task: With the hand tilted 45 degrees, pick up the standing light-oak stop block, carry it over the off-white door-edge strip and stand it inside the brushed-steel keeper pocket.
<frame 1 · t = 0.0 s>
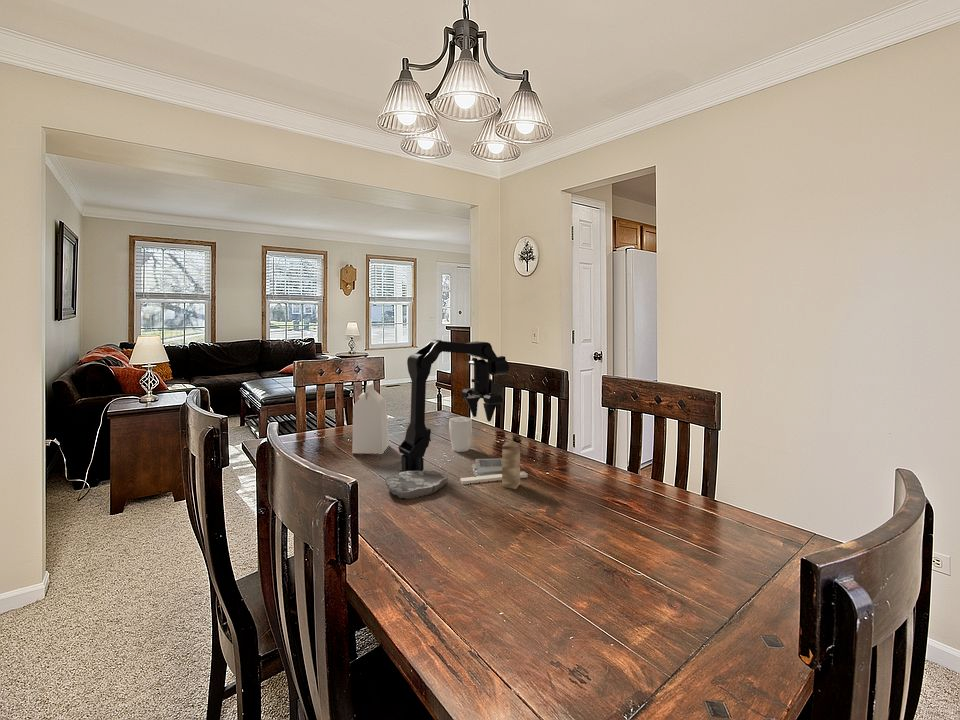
hand: (481, 419, 178), 15 cm above the table, tool pointing down, fingers open, 9 cm apart
keeper: (490, 470, 166), on the table
cup: (460, 450, 191), on the table
milk: (371, 450, 190), on the table
stop block: (511, 485, 152), on the table
brain slice: (413, 489, 150), on the table
door edge strip: (494, 479, 157), on the table
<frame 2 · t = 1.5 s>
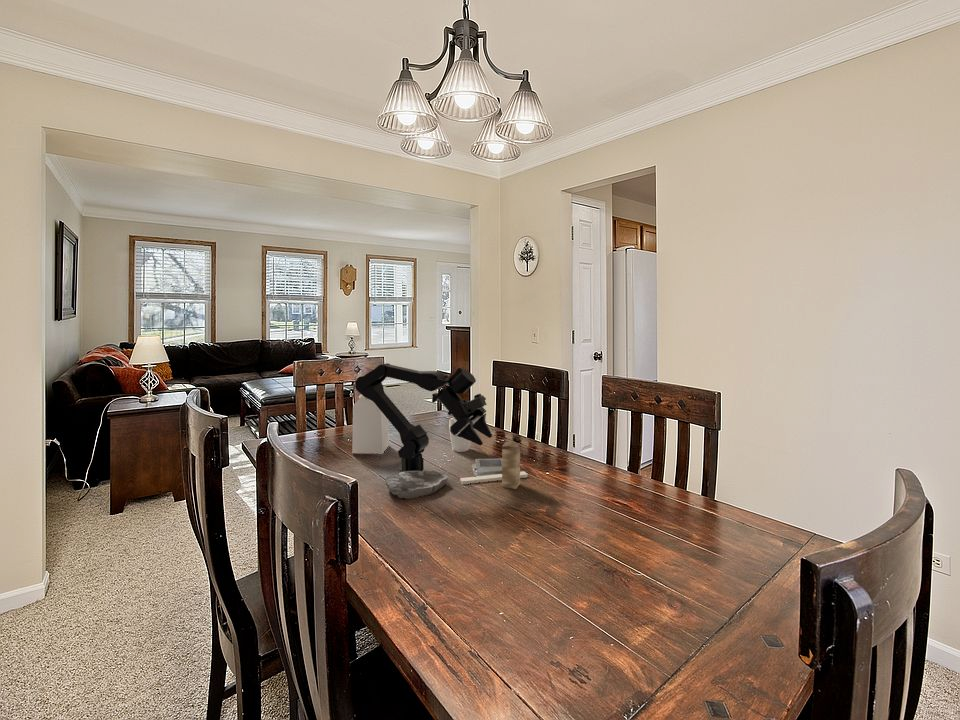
hand: (486, 440, 153), 13 cm above the table, tool tilted 45°, fingers open, 9 cm apart
nothing on the table moved.
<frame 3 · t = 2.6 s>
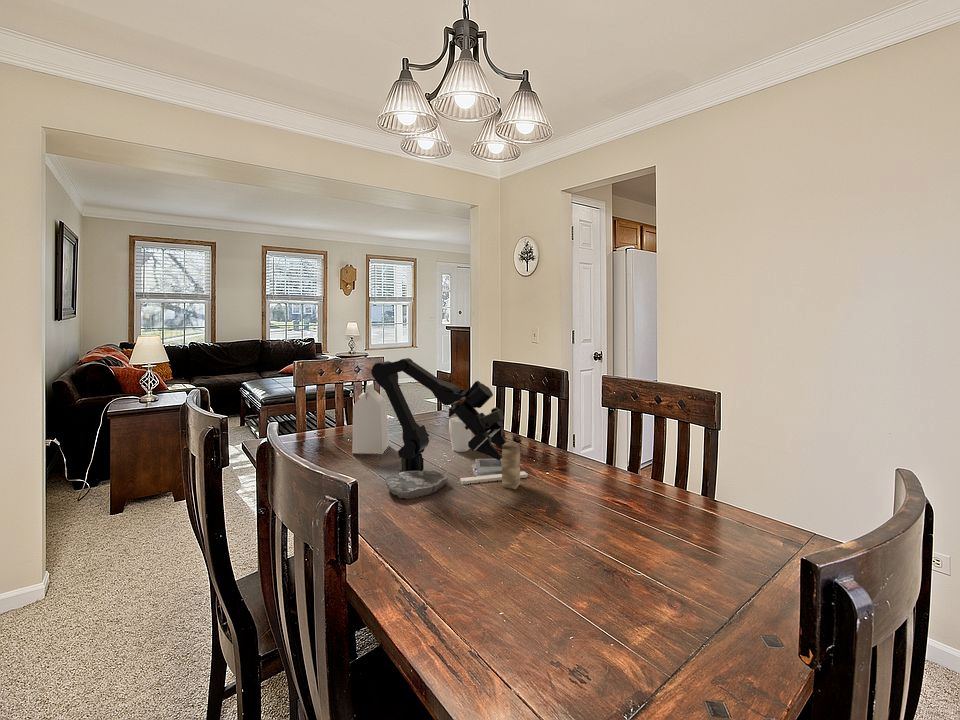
hand: (504, 454, 152), 9 cm above the table, tool tilted 45°, fingers open, 9 cm apart
nothing on the table moved.
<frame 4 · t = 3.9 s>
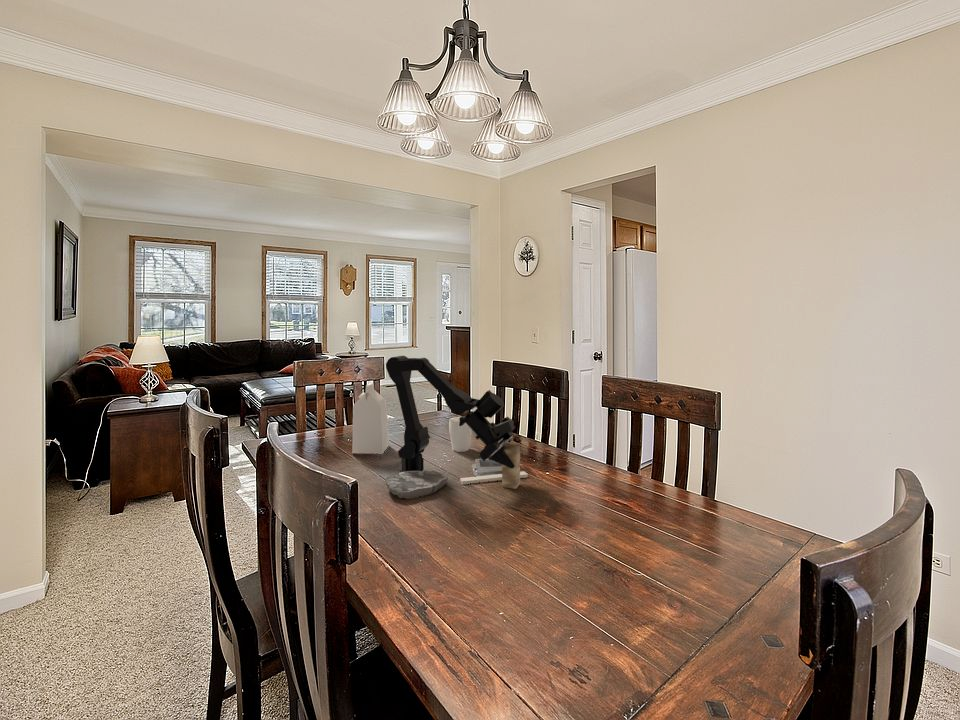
hand: (515, 465, 151), 7 cm above the table, tool tilted 45°, fingers closed on stop block, 4 cm apart
stop block: (511, 485, 152), on the table, touching gripper
everything else where it was.
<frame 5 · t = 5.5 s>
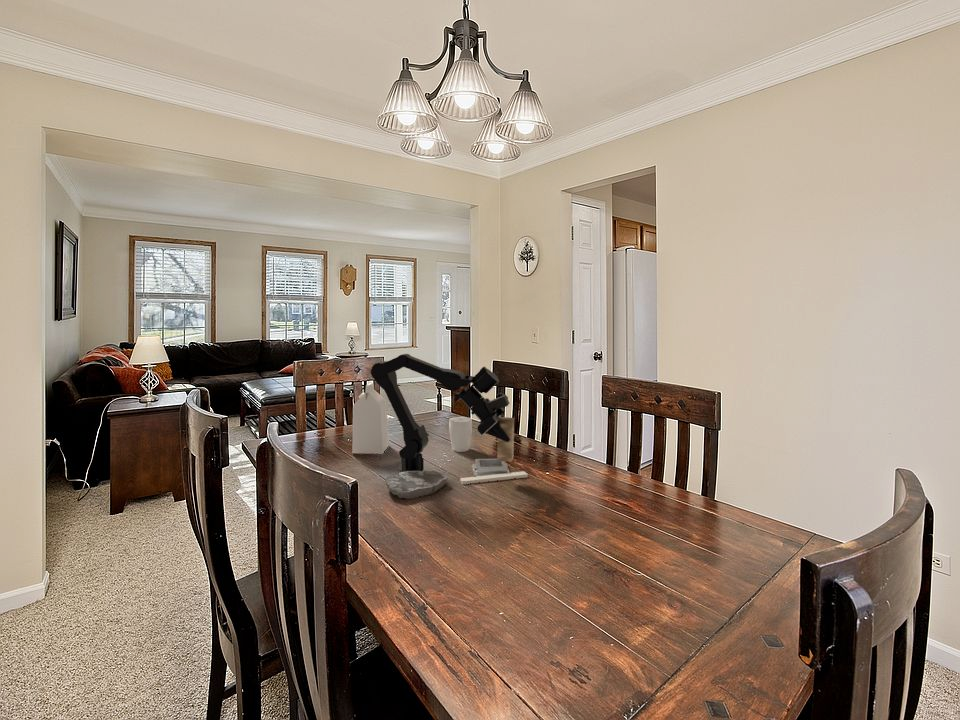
hand: (510, 439, 155), 13 cm above the table, tool tilted 45°, fingers closed on stop block, 4 cm apart
stop block: (505, 459, 156), point 7 cm above the table, touching gripper
everything else where it was.
when the fingers open (8 cm above the table, at t = 7.4 s): stop block drops 1 cm, resting on keeper.
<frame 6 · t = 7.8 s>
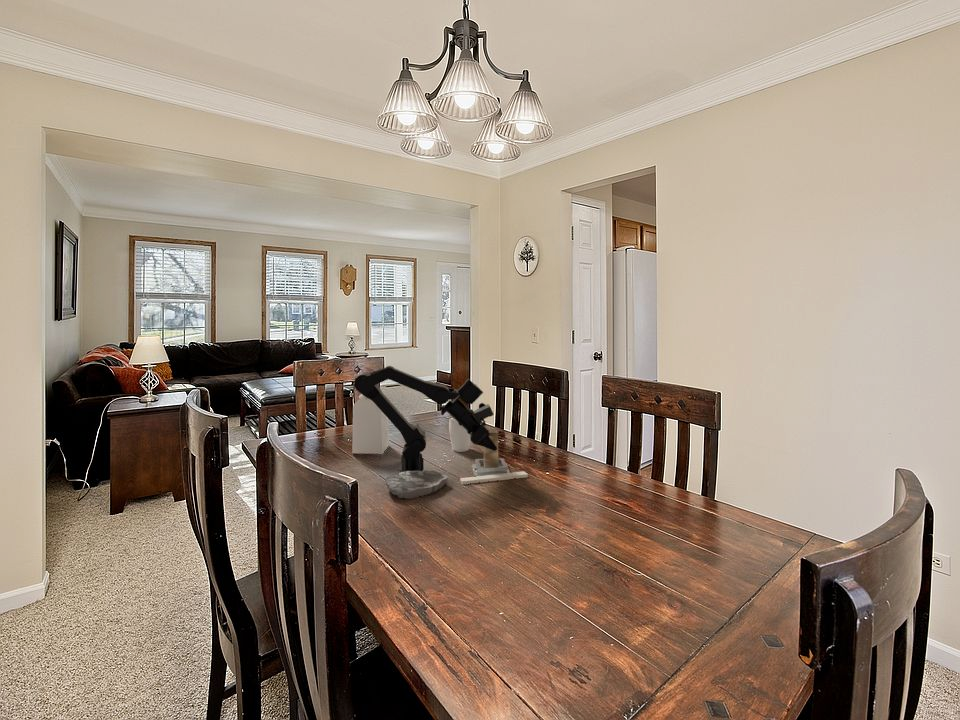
hand: (494, 445, 165), 9 cm above the table, tool tilted 45°, fingers open, 9 cm apart
stop block: (490, 468, 166), point 1 cm above the table, touching keeper
everything else where it was.
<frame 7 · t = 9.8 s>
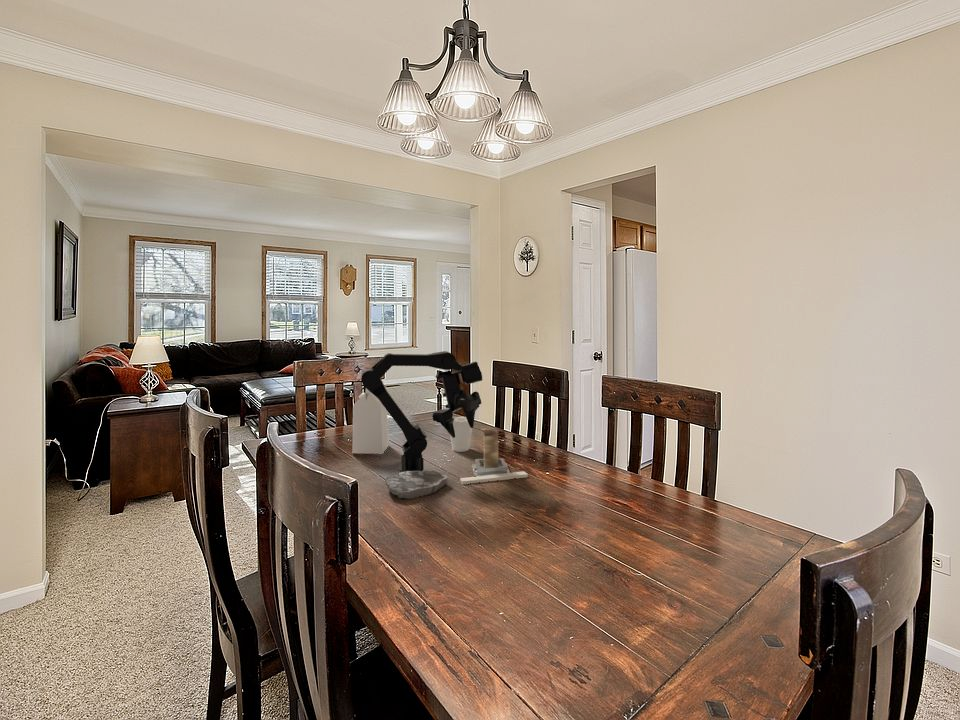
hand: (463, 432, 166), 13 cm above the table, tool pointing down, fingers open, 9 cm apart
nothing on the table moved.
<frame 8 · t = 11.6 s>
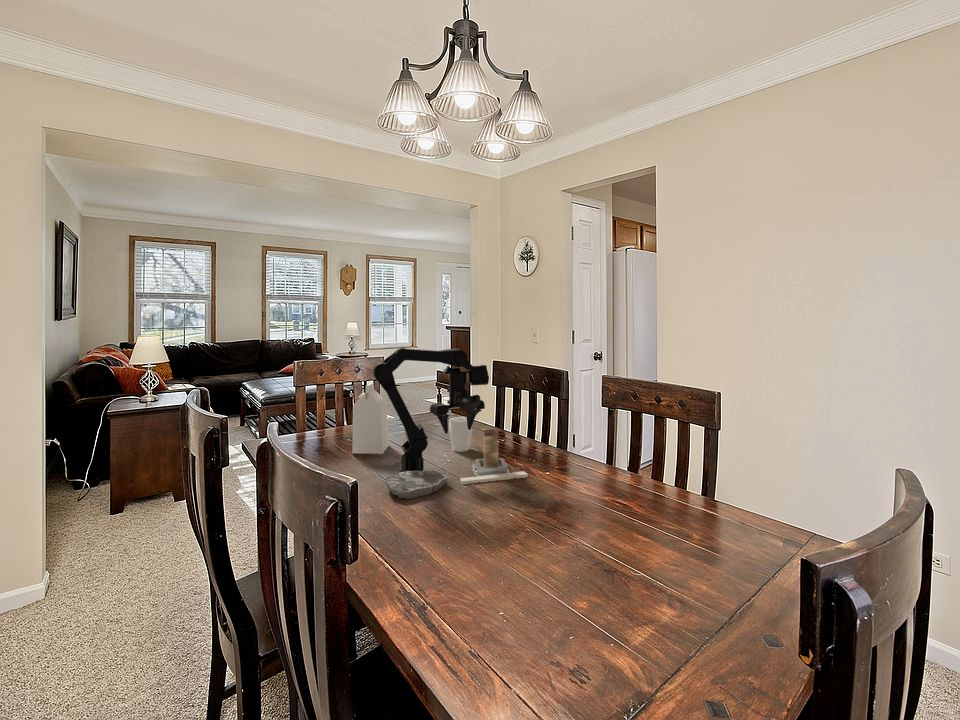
hand: (458, 431, 167), 13 cm above the table, tool pointing down, fingers open, 9 cm apart
nothing on the table moved.
at the end: stop block 0.1 cm off-centre on the keeper, point 0.6 cm above the keeper's base; stop block tilted 0°; the gripper is holding nothing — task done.
